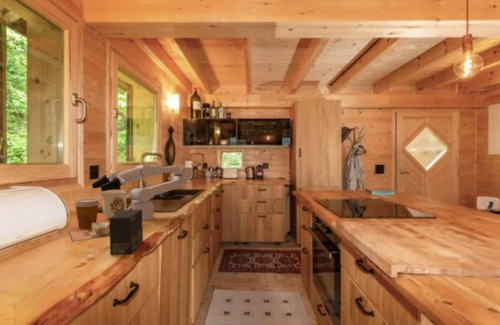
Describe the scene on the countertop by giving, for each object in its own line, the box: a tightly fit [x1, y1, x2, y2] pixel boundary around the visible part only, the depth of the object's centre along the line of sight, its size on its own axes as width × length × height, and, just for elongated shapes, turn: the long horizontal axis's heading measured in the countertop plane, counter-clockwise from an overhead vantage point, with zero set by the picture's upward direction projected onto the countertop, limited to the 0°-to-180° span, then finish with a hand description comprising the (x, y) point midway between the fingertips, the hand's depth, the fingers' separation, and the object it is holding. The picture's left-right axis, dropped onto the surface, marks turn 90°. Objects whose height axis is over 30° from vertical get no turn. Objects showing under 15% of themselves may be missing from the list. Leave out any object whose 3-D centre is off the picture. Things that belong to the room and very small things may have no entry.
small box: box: [108, 209, 144, 256], centre depth 91 cm, size 13×7×12 cm, turn 7°
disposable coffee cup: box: [74, 198, 101, 229], centre depth 117 cm, size 10×10×12 cm
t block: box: [91, 220, 110, 236], centre depth 110 cm, size 11×12×3 cm
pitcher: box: [97, 190, 132, 220], centre depth 136 cm, size 11×18×14 cm, turn 139°
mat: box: [67, 228, 110, 243], centre depth 108 cm, size 21×16×1 cm
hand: (96, 187), depth 114 cm, fingers open, 7 cm apart
